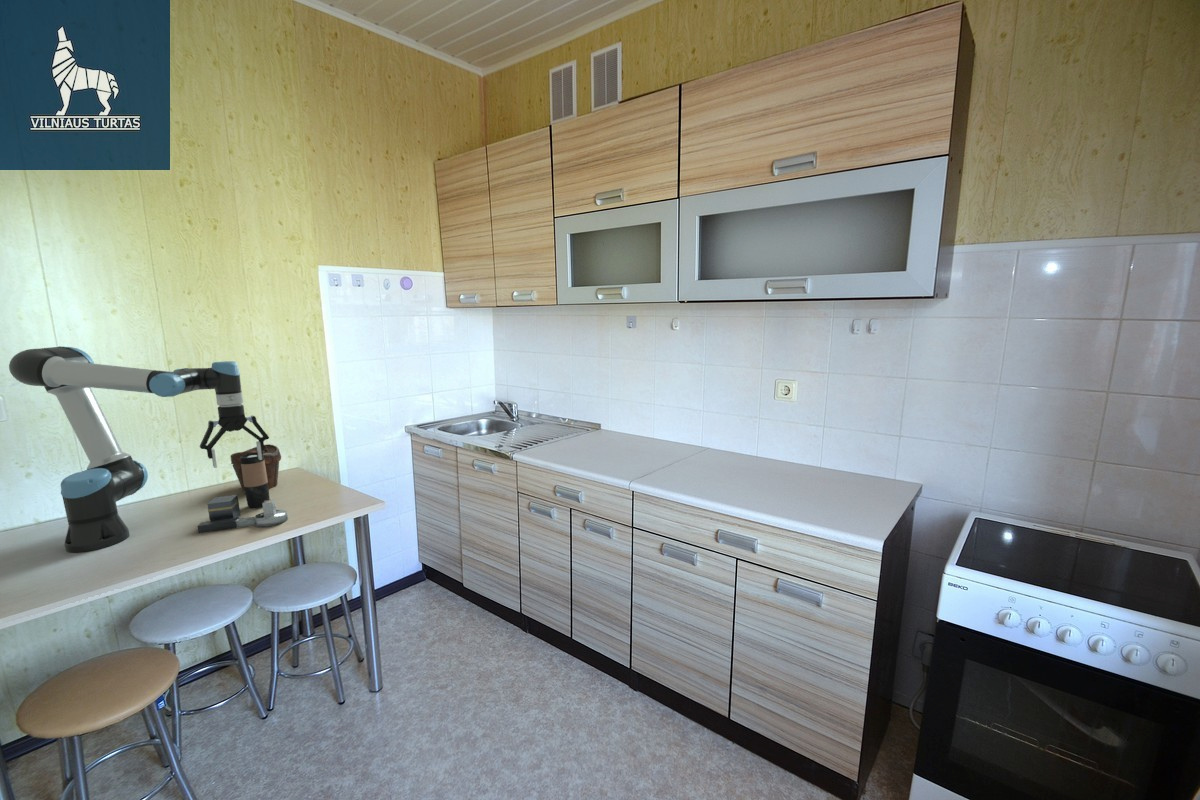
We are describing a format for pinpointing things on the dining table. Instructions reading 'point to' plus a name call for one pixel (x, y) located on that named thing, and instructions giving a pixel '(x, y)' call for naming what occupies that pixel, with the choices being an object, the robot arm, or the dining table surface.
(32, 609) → the dining table surface
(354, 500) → the dining table surface
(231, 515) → the gold-striped grey cube
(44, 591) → the dining table surface
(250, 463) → the travel mug
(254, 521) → the ratchet
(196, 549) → the dining table surface
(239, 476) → the brown tapered pot
